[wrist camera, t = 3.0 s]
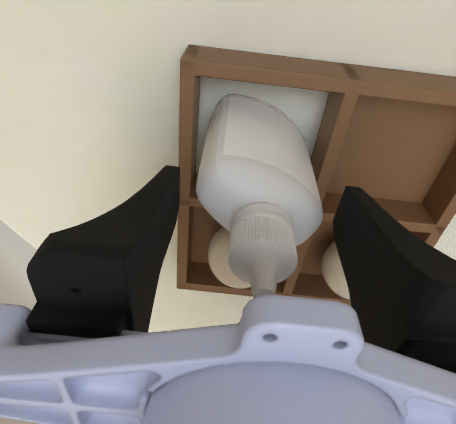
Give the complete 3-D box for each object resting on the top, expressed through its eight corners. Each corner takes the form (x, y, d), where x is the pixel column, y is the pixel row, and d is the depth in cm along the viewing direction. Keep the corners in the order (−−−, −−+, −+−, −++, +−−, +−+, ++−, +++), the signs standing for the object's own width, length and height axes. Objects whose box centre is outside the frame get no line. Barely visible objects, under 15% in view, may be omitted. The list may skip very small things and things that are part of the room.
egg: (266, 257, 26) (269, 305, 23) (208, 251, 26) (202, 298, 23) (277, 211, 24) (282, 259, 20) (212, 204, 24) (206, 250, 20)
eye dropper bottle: (269, 67, 18) (289, 208, 9) (311, 151, 21) (360, 324, 12) (200, 107, 20) (155, 264, 10) (248, 180, 23) (246, 354, 13)
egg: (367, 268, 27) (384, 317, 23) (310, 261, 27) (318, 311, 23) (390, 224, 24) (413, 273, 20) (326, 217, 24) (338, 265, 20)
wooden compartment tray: (382, 284, 28) (392, 311, 26) (182, 262, 28) (176, 288, 26) (498, 82, 18) (529, 100, 16) (188, 44, 18) (180, 58, 16)
